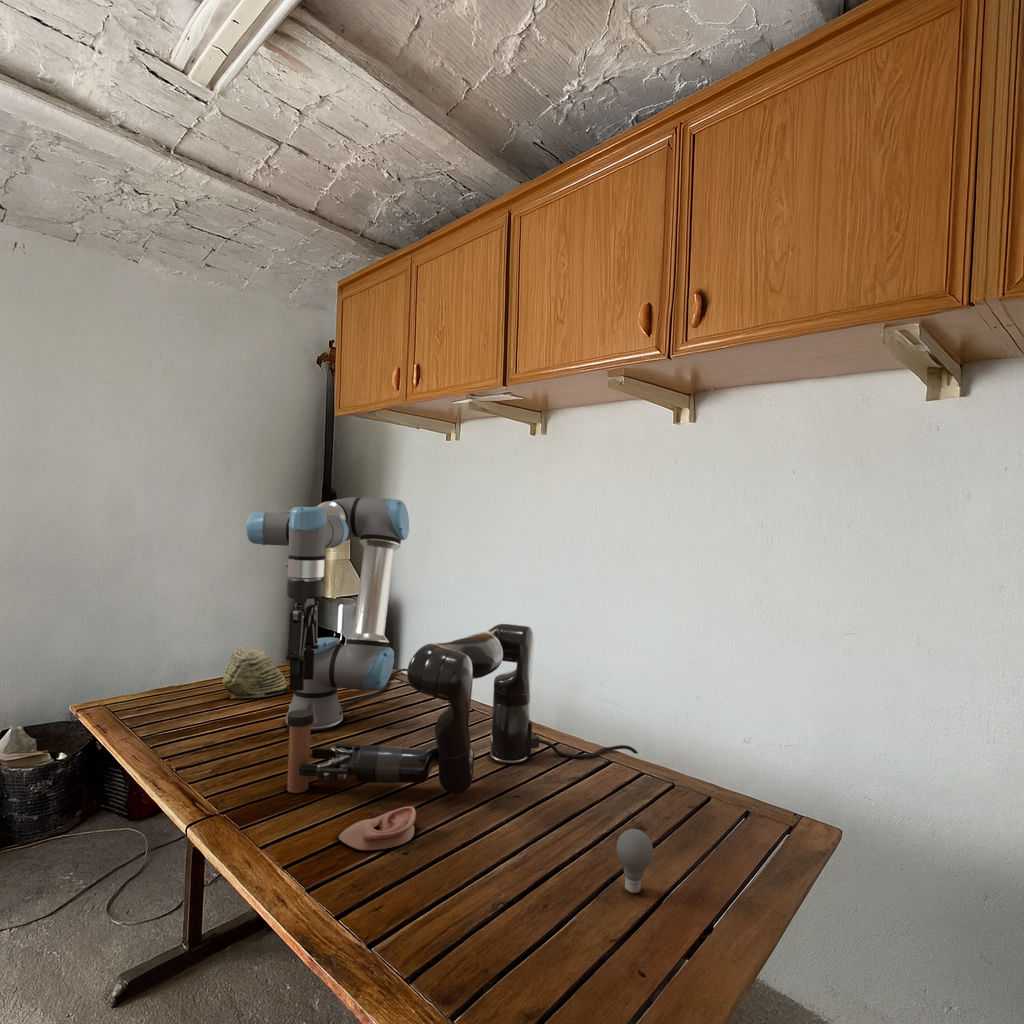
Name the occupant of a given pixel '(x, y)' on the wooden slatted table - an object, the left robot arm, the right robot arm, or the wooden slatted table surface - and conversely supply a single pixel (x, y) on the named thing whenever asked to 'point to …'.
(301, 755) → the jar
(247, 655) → the fossil
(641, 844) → the light bulb
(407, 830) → the anatomical model
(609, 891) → the wooden slatted table surface
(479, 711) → the wooden slatted table surface
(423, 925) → the wooden slatted table surface
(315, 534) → the left robot arm
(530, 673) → the right robot arm
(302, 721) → the lid
